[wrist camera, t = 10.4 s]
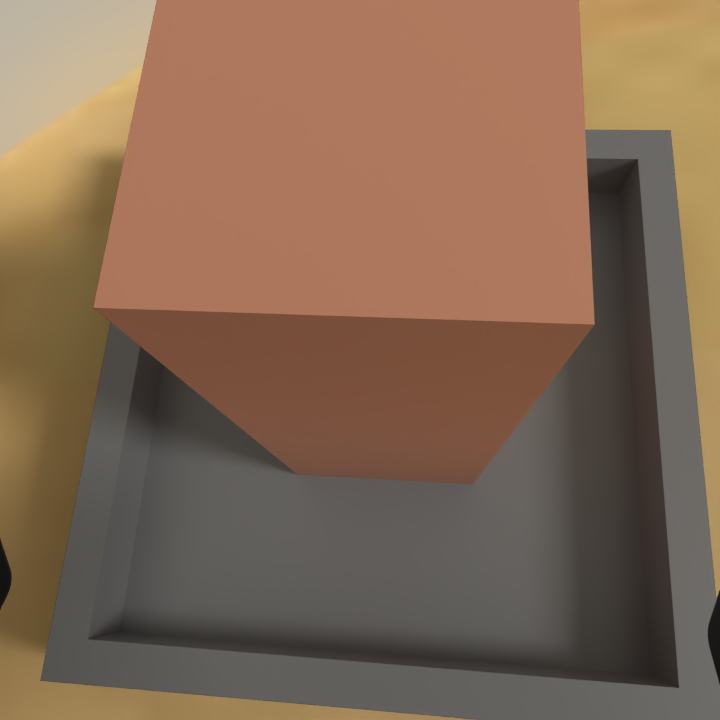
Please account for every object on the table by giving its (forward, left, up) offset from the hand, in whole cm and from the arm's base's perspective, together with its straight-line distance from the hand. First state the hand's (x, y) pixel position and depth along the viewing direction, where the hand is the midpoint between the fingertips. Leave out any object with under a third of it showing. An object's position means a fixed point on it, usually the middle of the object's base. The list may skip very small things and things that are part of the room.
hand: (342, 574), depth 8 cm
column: (+4, +2, -10) cm, 11 cm away
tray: (+4, +2, -11) cm, 12 cm away
